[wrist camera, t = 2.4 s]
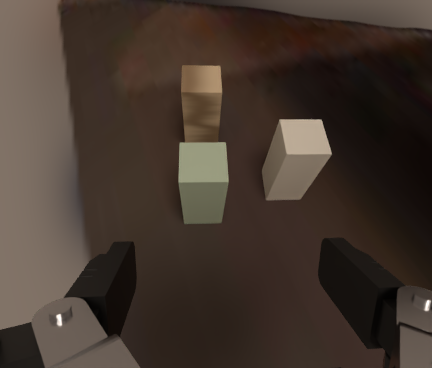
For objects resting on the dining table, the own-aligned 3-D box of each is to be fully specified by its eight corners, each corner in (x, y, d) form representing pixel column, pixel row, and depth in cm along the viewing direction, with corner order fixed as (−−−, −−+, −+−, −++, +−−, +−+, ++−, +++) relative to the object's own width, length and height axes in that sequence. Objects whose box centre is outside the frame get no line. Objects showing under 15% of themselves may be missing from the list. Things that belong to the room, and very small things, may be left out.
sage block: (219, 190, 36) (225, 142, 27) (221, 223, 34) (228, 182, 25) (184, 191, 36) (179, 142, 27) (184, 223, 33) (178, 182, 25)
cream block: (293, 170, 38) (321, 119, 29) (300, 199, 36) (331, 154, 27) (261, 170, 38) (279, 119, 29) (265, 200, 36) (286, 154, 27)
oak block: (216, 123, 42) (220, 66, 33) (217, 147, 39) (222, 92, 31) (186, 123, 41) (182, 65, 33) (185, 147, 39) (181, 92, 30)
